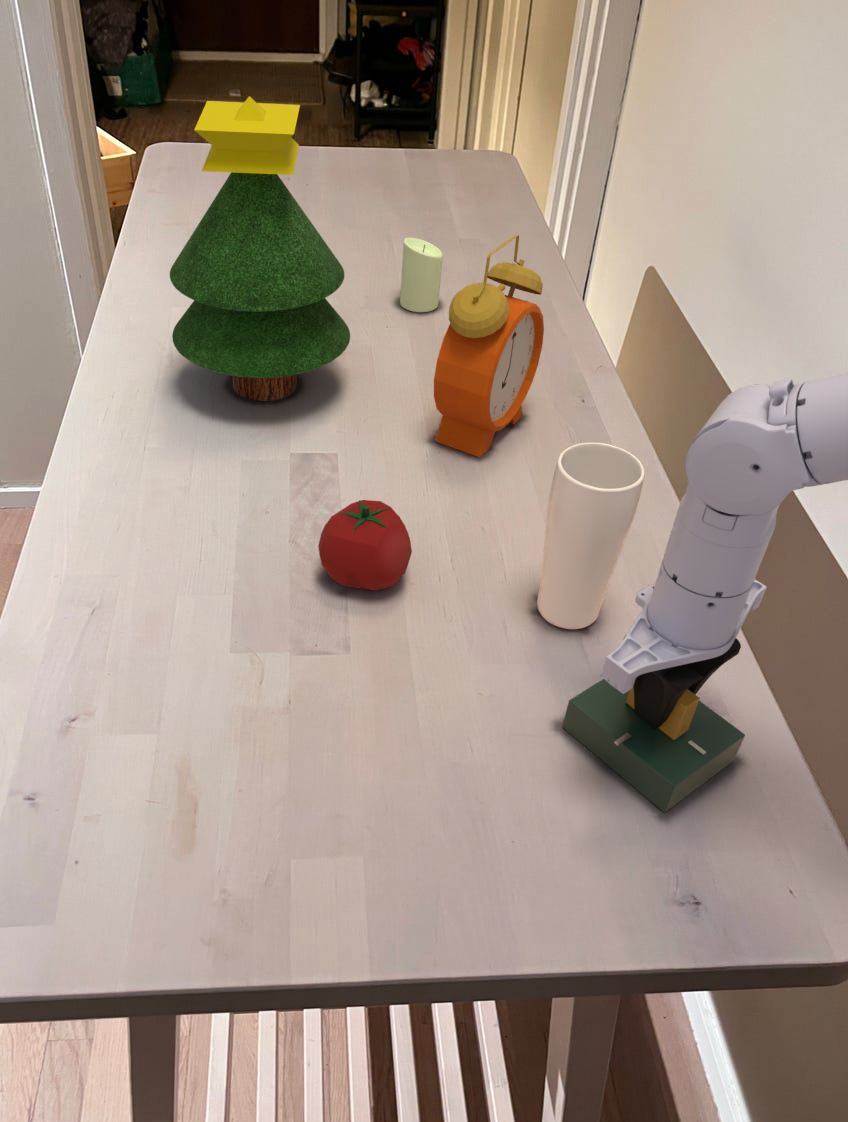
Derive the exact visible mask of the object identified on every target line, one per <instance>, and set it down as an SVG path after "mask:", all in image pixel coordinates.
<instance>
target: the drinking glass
mask: <svg viewBox="0 0 848 1122" xmlns="http://www.w3.org/2000/svg"><path fill="white" fill-rule="evenodd" d="M644 467H645V466H644V465H643V463H642V462H641V460H640V459H639V458H638V457H636V456H635V455H634V454H632V453H631V452H629V450H626V449H624V448H622V447H619V446H616V445H613V444H608V443H603V442H581V443H577V444H572V445H570V446H569V447H567V448H565V449H564V450H563V451H562V452H561V453H560V454H559V456H558V457H557V461H556V464H555V468H554V473H553V476H552V481H551V486H550V491H549V496H548V504H547V511H546V520H545V521H546V522H545V531H544V543H543V554H542V564H541V566H542V567H541V574H540V584H539V588H538V589H539V590H538V594H537V598H536V599H537V600H536V602H537V603H536V604H537V605H536V606H537V611H538V612H539V614H540V615H541V617H542V618H543V619H544V620H545V621H546V622H548V623H549V624H551V625H553V626H555V627H558V628H561V629H566V630H579V629H584V628H587V627H589V626H591V625H592V624H593V623H594V622H595V621H596V620H597V619H598V617H599V616H600V612H601V608H602V604H603V602H604V598H605V595H606V594H607V590H608V588H609V584H610V582H611V580H612V577H613V574H614V572H615V569H616V566H617V564H618V561H619V559H620V556H621V553H622V551H623V548H624V546H625V544H626V541H627V539H628V536H629V532H630V530H631V528H632V525H633V523H634V520H635V516H636V514H637V509H638V505H639V503H640V499H641V494H642V490H643V485H644V480H645V475H646V471H645V468H644Z"/></svg>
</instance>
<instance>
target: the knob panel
mask: <svg viewBox="0 0 848 1122" xmlns="http://www.w3.org/2000/svg"><path fill="white" fill-rule="evenodd" d="M629 691H630V690H629ZM629 691H628V692H626V693H625V694H622V693H621V692H620V691H619V690H617V689H616V688H614V687H613V686H612V685H610V684H609V683H608V682H607V681H606V680H604V679H603V678H602V679H601V680H599V681H597V682H596V683H594V684H592V685H591V686H590V687H588V688H587V689H585V690H583V691H582V692H580V693H578V694H577V695H575V696H573V697H572V698H570V699H569V700H568V702H567V705H566V709H565V710H566V711H565V714H564V719H563V723H562V726H561V727H562V728H563V729H564V730H565V731H567V732H568V733H569V734H570V735H571V736H572V737H574V738H575V739H576V740H577V741H578V742H579V743H581V744H582V745H583V746H584V747H585V748H586V749H588V750H589V751H590V752H591V753H592V754H594V756H596V757H598V758H599V760H601V761H602V762H603V763H604V764H606V766H608V767H609V768H611V769H612V770H613V771H614V772H615V773H616V774H618V775H619V776H620V777H621V778H622V779H623V780H624V781H626V782H627V783H628V784H630V785H631V786H632V787H633V788H634V789H635V790H637V791H638V792H639V793H640V794H641V795H643V796H644V797H645V798H646V799H647V800H648V801H650V802H651V803H652V804H653V805H654V806H656V807H657V808H658V809H659V810H660V811H661V812H663V813H666V812H668V811H669V810H671V809H672V808H673V807H675V806H676V805H677V804H678V803H680V802H681V801H683V800H684V799H685V798H686V797H688V796H689V795H690V794H692V793H693V792H694V791H696V790H697V789H699V787H701V786H702V785H704V784H705V783H707V782H708V781H709V780H710V779H712V778H713V777H714V776H717V774H718V773H720V772H721V771H723V770H724V769H725V768H726V767H727V766H729V765H730V764H732V763H733V762H734V760H735V758H736V757H737V755H738V752H739V750H740V748H741V746H742V743H743V741H744V738H745V736H746V734H745V733H744V732H742V731H741V730H740V729H738V728H737V727H735V726H734V725H733V724H732V723H730V722H729V721H728V720H726V719H725V718H723V717H722V716H721V715H720V714H718V713H717V712H715V711H714V710H713V709H712V708H710V707H709V706H707V705H706V704H705V703H703V702H702V701H700V700H699V703H698V705H697V708H696V711H695V713H694V716H693V718H692V721H691V723H690V726H689V729H688V731H687V732H685V733H684V734H682V735H681V736H680V737H678V738H677V739H675V740H673V739H672V738H670V737H669V736H668V735H667V734H665V733H664V732H663V731H661V730H660V729H659V728H657V729H653V728H652V727H651V726H649V725H648V724H647V723H646V722H644V721H643V720H642V719H641V718H639V717H638V716H637V715H635V709H633V708H632V707H631V706H630V705H628V704H627V703H626V700H627V697H628V694H629Z"/></svg>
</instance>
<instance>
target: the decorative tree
mask: <svg viewBox="0 0 848 1122" xmlns="http://www.w3.org/2000/svg"><path fill="white" fill-rule="evenodd" d="M300 107H301V105H300V104H290V103H289V104H287V103H268V102H267V103H265V102H264V103H263V102H257V101H255V100H254V98H252V97H251V96H250V95H249V96H248V97H247V98H246V100H245V101H244V102H242V101H240V102H239V101H222V100H221V101H220V100H219V101H218V100H207V101H206V102H205V105H204V107H203V109H202V111H201V114H200V115H199V118H198V121H197V123H196V125H195V126H194V132H196V133H197V134H198V135H199V136H200V137H201V138H202V139H204V140H205V141H206V142H207V143H209V144H210V145H211V146H210V147H209V148H210V149H209V151H208V153H207V156H206V159H205V161H204V164H203V167H202V169H201V172H214V173H215V172H217V173H229V175H228V177H227V178H226V179H225V181H224V183H223V184H222V186H221V188H220V189H219V191H218V192H217V194H216V196H215V197H214V199H213V200H212V202H211V204H210V205H209V207H208V208H207V209H206V212H205V213H204V215H203V217H202V218H201V220H200V221H199V222H198V225H197V226H196V227H195V229H194V230H193V232H192V234H191V235H190V237H189V239H187V241H186V243H185V245H184V247H183V248H182V249H181V251H180V253H179V255H178V256H177V257H176V259H175V261H174V263H173V264H172V265H171V267H170V271H169V279H170V282H171V284H172V285H173V287H174V288H175V289H176V290H177V291H178V292H179V293H181V295H183V296H185V297H187V298H188V299H191V300H192V302H191V304H190V305H189V307H188V308H187V309H186V310H185V312H184V313H183V315H181V317H180V319H179V320H178V321H177V322H176V324H175V326H174V327H173V330H172V334H171V339H172V344H173V345H174V347H175V349H176V350H177V352H178V354H180V355H181V356H182V357H183V358H184V359H186V360H188V361H189V362H190V363H192V364H194V365H195V366H198V367H200V368H203V369H205V370H208V371H211V372H214V373H218V374H223V375H228V376H231V378H232V379H231V380H232V388H233V390H234V391H235V393H236V394H238V395H239V396H240V397H243V398H244V399H248V400H252V401H256V402H272V401H278V400H281V399H284V398H287V397H289V396H290V395H292V394H293V393H295V391H296V390H297V387H298V375H299V374H305V373H307V372H310V371H313V370H316V369H317V370H318V369H319V368H322V367H324V366H326V365H328V364H330V363H331V362H333V361H335V360H336V359H337V358H339V357H341V355H342V354H343V353H344V352H345V351H346V349H347V348H348V347H349V344H350V341H351V331H350V328H349V327H348V324H347V323H346V321H345V320H344V319H343V318H342V316H341V315H340V314H339V313H338V312H337V310H336V309H335V308H334V307H333V306H332V304H331V303H330V302H329V301H328V299H327V298H328V297H330V296H332V294H334V293H335V292H336V291H337V290H339V288H340V287H341V286H342V285H343V283H344V281H345V270H344V267H343V265H342V264H341V262H340V261H339V259H338V258H337V257H336V255H335V254H334V253H333V251H332V249H331V248H330V247H329V245H328V244H327V242H326V241H325V240H324V239H323V237H322V235H321V234H320V233H319V231H318V229H317V228H316V226H315V225H314V224H313V223H312V221H311V220H310V218H309V217H308V215H307V214H306V213H305V211H304V210H303V208H302V207H301V206H300V204H299V202H297V200H296V199H295V197H294V196H293V194H292V193H291V191H290V190H289V189H288V187H287V186H286V185H285V183H284V181H283V180H282V179H281V177H280V176H279V175H283V176H285V175H286V176H287V175H289V176H294V174H295V170H296V169H295V168H296V164H297V158H298V152H299V148H300V145H299V143H298V142H297V141H296V140H295V139H294V138H293V136H294V135H295V131H296V126H297V121H298V117H299V111H300Z"/></svg>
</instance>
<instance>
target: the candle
mask: <svg viewBox="0 0 848 1122" xmlns="http://www.w3.org/2000/svg"><path fill="white" fill-rule="evenodd" d="M402 247H403V248H402V260H401V261H402V263H401V276H400V277H401V278H400V292H399V293H400V295H399V304H400V307H402V308H403V309H404V310H407V311H408V312H409V311H410V312H411V313H413V312H414V313H429V312H432V311H434V310H436V309H437V308H438V306H439V300H440V289H441V281H442V280H441V279H442V269H443V260H444V259H443V257H444V255H443V251H442V250H440V248H438V247H437V246H436V245H434V244H432V243H430V242H429V241H426V240H423V239H420V238H417V237H405V238H404V239H403V246H402Z"/></svg>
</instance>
